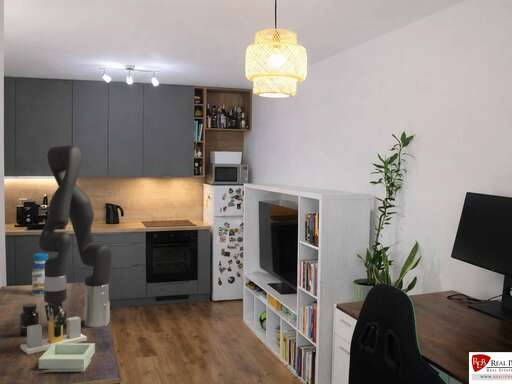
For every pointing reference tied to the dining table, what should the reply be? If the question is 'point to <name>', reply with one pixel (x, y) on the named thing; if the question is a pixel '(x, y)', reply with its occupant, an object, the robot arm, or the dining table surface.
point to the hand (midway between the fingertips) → (55, 334)
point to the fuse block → (47, 345)
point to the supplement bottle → (28, 318)
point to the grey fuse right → (73, 327)
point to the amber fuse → (51, 333)
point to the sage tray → (67, 357)
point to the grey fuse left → (34, 336)
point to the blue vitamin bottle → (39, 274)
